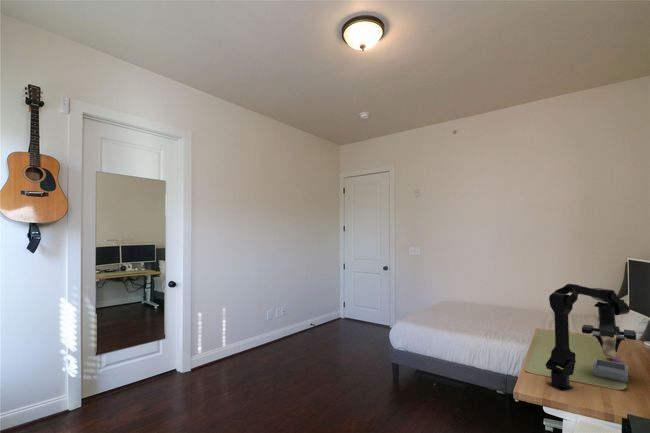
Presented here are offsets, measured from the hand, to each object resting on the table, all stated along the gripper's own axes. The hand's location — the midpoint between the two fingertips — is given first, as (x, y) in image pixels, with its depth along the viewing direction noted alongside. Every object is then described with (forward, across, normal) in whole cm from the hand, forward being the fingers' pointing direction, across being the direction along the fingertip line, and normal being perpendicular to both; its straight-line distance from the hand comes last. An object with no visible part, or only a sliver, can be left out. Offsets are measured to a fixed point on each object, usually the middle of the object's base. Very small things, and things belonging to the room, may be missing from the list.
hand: (609, 351), depth 152 cm
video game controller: (+12, 0, +23) cm, 26 cm away
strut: (+1, 0, 0) cm, 1 cm away
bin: (+12, -1, +4) cm, 13 cm away
